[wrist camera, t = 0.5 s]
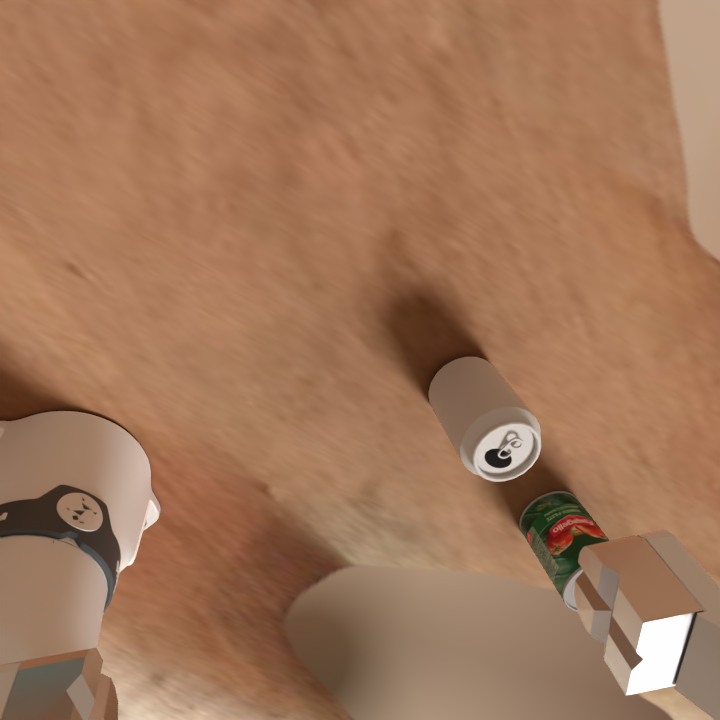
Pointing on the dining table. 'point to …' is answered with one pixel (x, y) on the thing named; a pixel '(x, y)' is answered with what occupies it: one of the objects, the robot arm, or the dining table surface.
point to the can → (485, 419)
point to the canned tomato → (560, 538)
